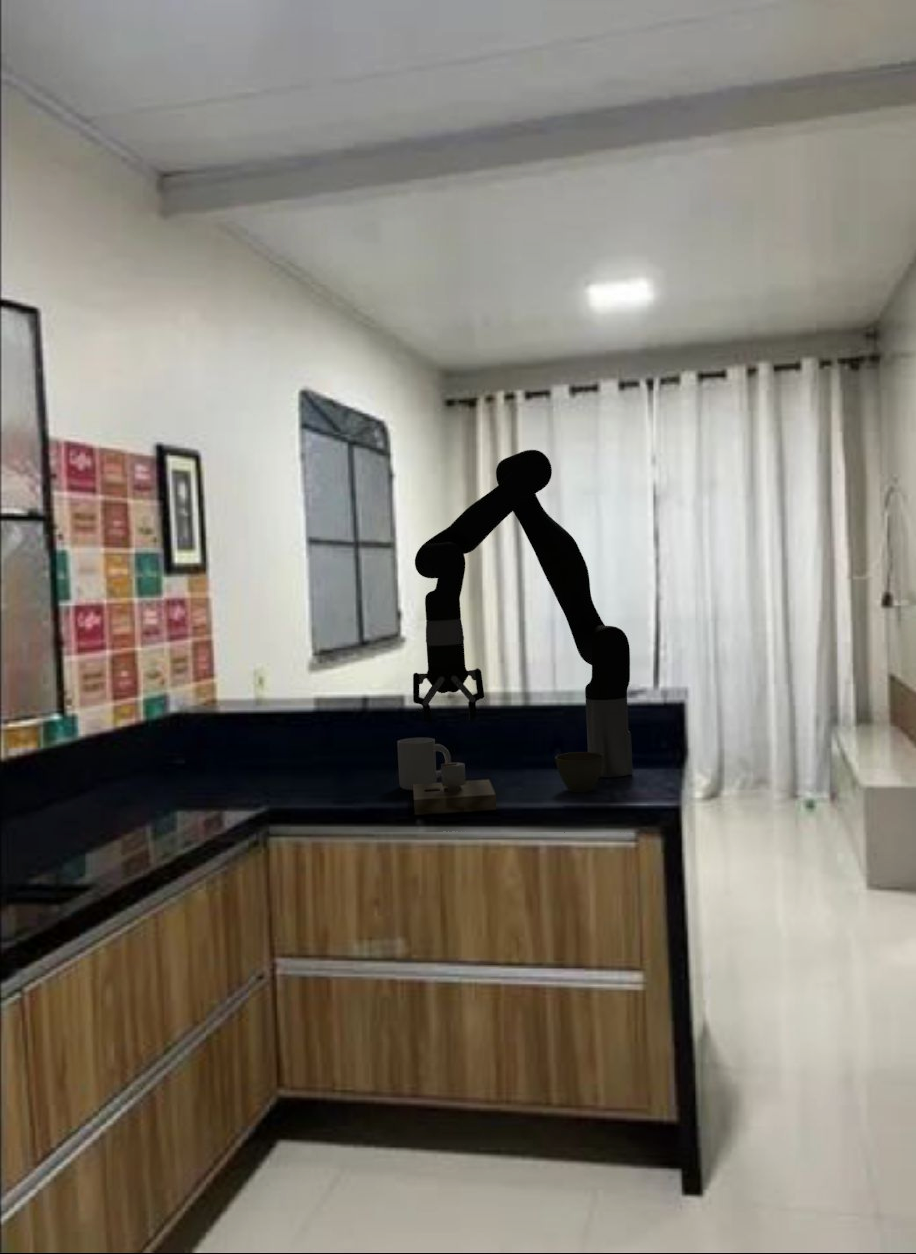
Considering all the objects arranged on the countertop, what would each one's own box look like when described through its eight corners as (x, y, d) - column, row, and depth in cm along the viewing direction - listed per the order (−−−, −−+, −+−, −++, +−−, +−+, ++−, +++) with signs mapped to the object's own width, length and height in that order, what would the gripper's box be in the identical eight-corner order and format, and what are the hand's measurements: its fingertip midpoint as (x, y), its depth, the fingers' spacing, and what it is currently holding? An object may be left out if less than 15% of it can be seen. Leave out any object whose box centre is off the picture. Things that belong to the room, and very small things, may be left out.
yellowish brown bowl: (549, 793, 227) (547, 759, 227) (567, 784, 236) (566, 751, 236) (594, 796, 223) (593, 761, 222) (611, 786, 231) (610, 752, 231)
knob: (465, 800, 225) (463, 760, 224) (467, 805, 220) (465, 764, 219) (442, 802, 224) (440, 762, 224) (443, 807, 219) (441, 766, 219)
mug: (446, 779, 248) (444, 734, 248) (458, 786, 241) (455, 739, 240) (395, 785, 245) (392, 739, 244) (405, 792, 237) (402, 744, 236)
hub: (489, 793, 230) (488, 778, 230) (496, 809, 214) (495, 793, 214) (413, 798, 230) (412, 782, 229) (414, 815, 214) (413, 798, 213)
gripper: (478, 638, 224) (483, 717, 225) (409, 643, 224) (414, 722, 224) (481, 641, 217) (486, 722, 218) (409, 645, 216) (415, 727, 217)
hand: (450, 722), depth 221 cm, fingers open, 8 cm apart
